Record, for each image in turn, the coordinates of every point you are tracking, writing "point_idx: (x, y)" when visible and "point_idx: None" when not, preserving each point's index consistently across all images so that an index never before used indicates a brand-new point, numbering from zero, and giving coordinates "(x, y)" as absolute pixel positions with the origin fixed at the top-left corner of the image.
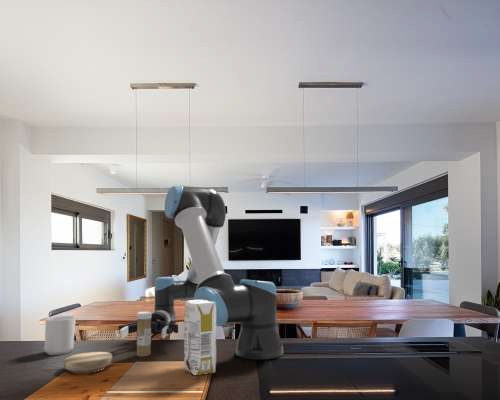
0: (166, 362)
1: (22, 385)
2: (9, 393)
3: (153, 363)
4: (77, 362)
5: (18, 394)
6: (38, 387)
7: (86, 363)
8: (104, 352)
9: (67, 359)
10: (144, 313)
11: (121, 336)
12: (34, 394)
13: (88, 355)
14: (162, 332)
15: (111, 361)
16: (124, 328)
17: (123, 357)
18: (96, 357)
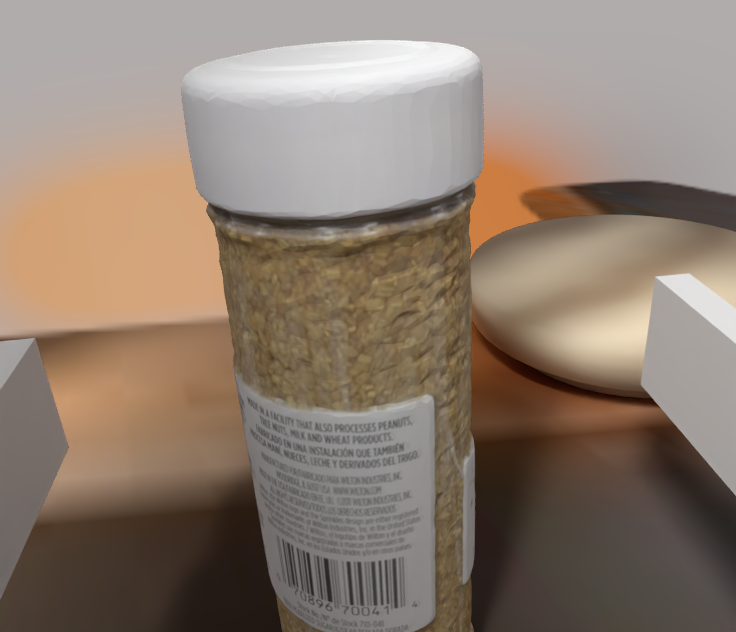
0: (72, 470)
1: (698, 208)
2: (652, 183)
3: (186, 442)
4: (605, 224)
5: (611, 184)
6: (608, 208)
7: (535, 222)
8: (631, 337)
9: (733, 239)
10: (290, 47)
11: (646, 355)
12: (555, 188)
13: None
14: (37, 378)
15: (477, 319)
16: (721, 331)
17: (577, 553)
18: (576, 272)
